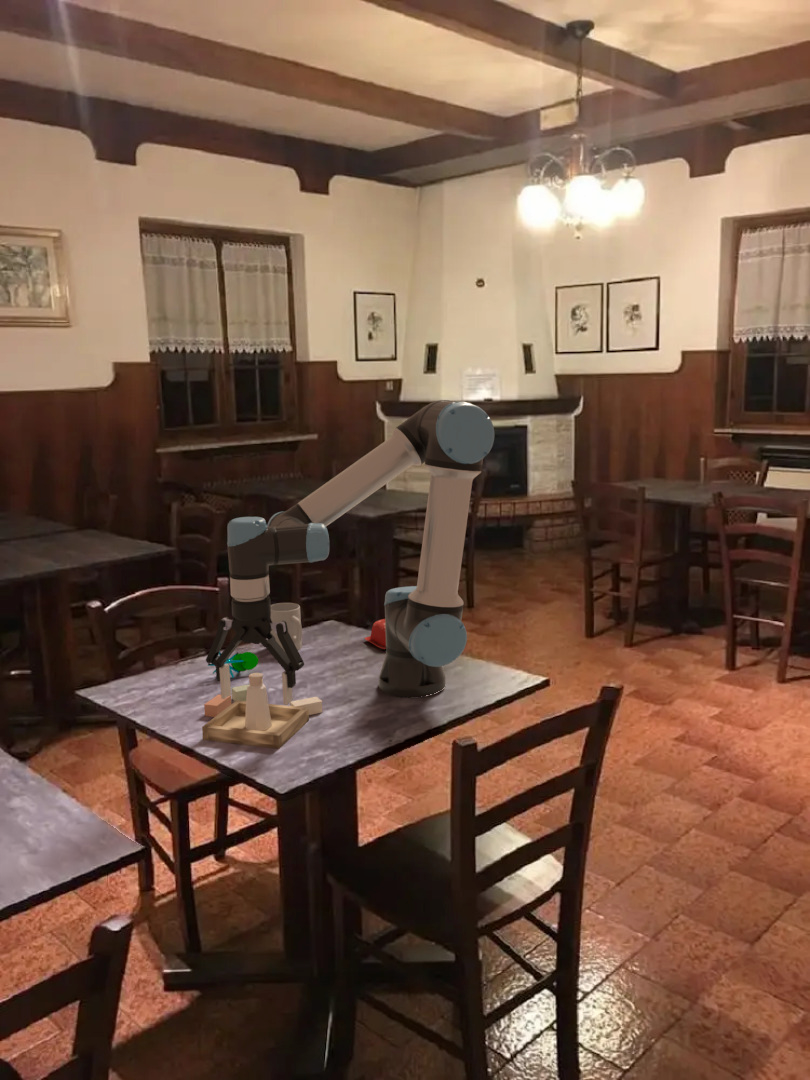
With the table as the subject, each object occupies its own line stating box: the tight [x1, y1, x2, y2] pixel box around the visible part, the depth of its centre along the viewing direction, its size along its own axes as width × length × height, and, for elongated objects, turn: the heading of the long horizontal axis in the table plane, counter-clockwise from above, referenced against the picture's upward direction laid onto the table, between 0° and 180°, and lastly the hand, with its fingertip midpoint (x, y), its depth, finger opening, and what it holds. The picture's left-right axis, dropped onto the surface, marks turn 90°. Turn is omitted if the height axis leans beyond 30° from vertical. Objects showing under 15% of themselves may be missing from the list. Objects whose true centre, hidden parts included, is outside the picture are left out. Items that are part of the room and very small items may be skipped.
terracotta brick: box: [203, 693, 233, 718], centre depth 192 cm, size 6×3×3 cm, turn 162°
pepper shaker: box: [245, 672, 272, 731], centre depth 181 cm, size 5×5×11 cm
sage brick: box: [231, 683, 250, 702], centre depth 199 cm, size 6×3×3 cm, turn 120°
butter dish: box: [364, 618, 386, 650], centre depth 236 cm, size 12×12×8 cm
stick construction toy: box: [207, 651, 259, 679], centre depth 215 cm, size 12×7×8 cm
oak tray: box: [201, 701, 310, 750], centre depth 182 cm, size 16×14×3 cm
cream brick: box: [289, 696, 323, 716], centre depth 190 cm, size 6×3×3 cm, turn 118°
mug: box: [271, 602, 303, 653], centre depth 232 cm, size 12×8×11 cm
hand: (256, 699), depth 181 cm, fingers open, 13 cm apart
